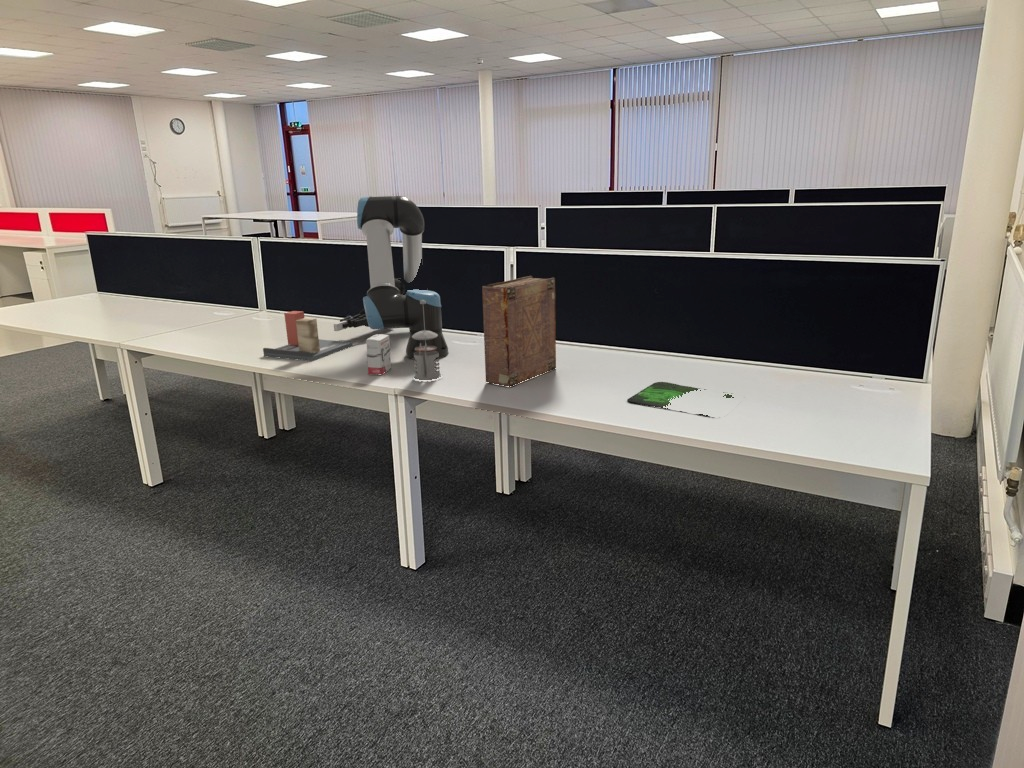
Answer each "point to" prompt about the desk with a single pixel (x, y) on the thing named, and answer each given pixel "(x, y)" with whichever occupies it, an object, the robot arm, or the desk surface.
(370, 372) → the ink box
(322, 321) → the desk surface
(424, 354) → the french press
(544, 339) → the book
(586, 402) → the desk surface
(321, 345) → the track board
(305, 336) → the birch slider
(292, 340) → the red slider
